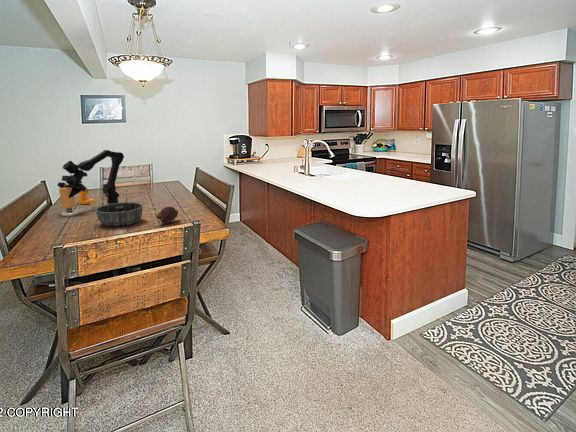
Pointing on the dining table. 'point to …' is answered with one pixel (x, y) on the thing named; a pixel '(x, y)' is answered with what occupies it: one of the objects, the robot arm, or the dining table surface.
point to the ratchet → (75, 211)
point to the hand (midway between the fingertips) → (65, 197)
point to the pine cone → (167, 215)
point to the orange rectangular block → (66, 197)
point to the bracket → (84, 197)
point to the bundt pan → (119, 213)
